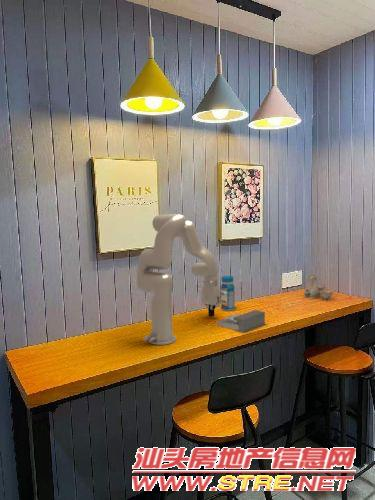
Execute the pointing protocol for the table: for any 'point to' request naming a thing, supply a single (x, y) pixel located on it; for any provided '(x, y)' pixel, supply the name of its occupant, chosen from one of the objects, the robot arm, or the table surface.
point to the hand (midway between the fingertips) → (211, 316)
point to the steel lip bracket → (245, 321)
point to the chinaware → (316, 289)
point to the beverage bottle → (227, 294)
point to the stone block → (231, 319)
